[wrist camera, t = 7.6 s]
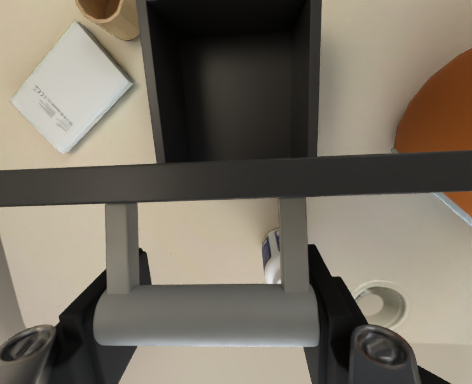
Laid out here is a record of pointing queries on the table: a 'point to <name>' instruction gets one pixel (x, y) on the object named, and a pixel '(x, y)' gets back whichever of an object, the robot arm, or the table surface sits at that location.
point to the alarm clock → (442, 122)
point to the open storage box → (231, 78)
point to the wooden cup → (112, 16)
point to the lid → (223, 188)
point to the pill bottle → (271, 257)
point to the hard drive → (71, 88)
